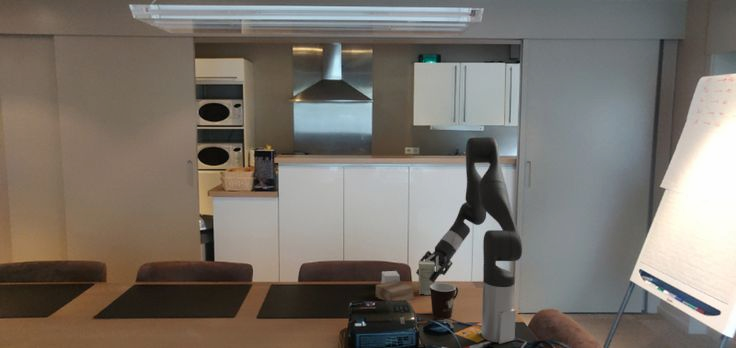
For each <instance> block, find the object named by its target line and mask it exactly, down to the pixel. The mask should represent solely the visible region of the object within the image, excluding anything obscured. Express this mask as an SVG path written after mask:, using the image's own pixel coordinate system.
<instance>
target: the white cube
mask: <svg viewBox="0 0 736 348" xmlns="http://www.w3.org/2000/svg"><path fill="white" fill-rule="evenodd" d="M395 280H397V281H400V282H401V275H400V274H399V273H398V271H397V270H392V271H391V270H390V271H387V270H386V271H381V284H382V283H386V282H391V281H395Z"/></svg>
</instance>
